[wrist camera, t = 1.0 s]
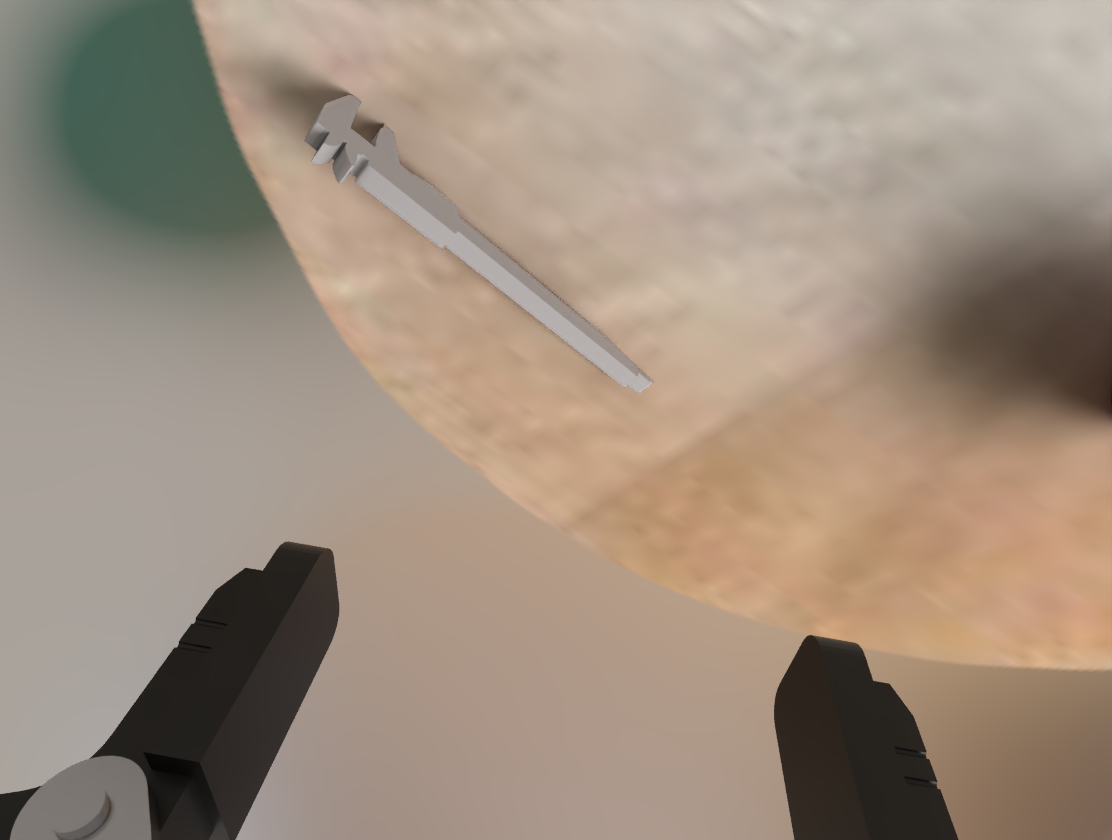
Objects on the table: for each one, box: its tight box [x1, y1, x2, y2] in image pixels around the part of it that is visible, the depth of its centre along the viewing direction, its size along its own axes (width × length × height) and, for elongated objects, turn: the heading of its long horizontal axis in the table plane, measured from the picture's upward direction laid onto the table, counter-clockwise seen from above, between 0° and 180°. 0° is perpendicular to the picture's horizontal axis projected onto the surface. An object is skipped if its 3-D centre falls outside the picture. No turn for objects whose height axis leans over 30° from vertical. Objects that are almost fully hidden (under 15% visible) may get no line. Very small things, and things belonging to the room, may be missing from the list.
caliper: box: [304, 95, 653, 393], centre depth 30 cm, size 20×1×6 cm, turn 46°
